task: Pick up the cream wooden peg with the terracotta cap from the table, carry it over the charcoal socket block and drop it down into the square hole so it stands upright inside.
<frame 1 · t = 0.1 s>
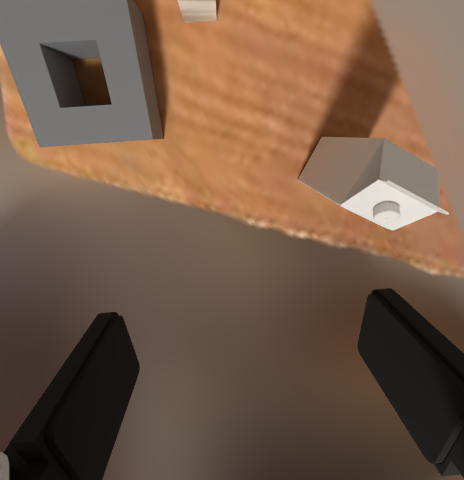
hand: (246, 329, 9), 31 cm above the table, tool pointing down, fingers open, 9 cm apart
milk carton: (326, 168, 37), on the table
socket block: (102, 85, 31), on the table
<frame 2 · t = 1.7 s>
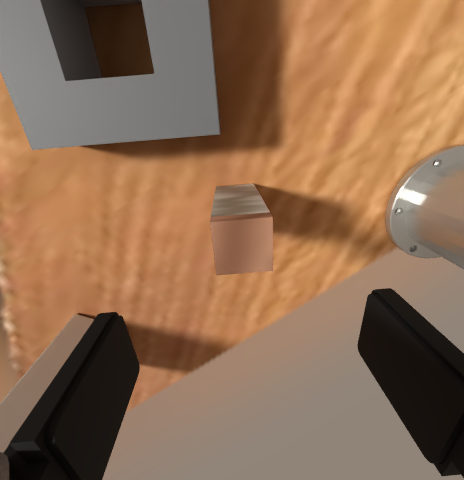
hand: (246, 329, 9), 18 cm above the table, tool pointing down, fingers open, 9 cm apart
milk carton: (98, 336, 33), on the table
peg: (236, 203, 26), on the table
socket block: (131, 51, 20), on the table
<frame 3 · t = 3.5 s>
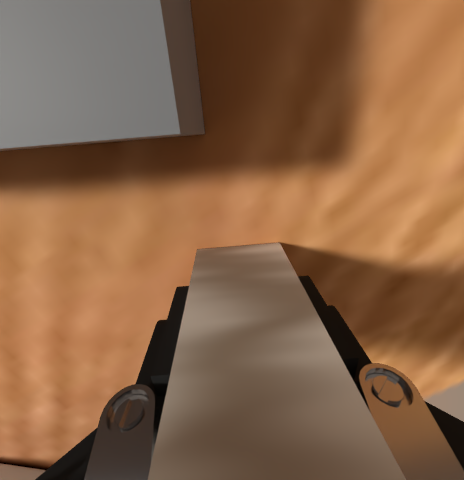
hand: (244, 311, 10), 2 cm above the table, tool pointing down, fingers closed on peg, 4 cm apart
milk carton: (5, 478, 20), on the table
peg: (240, 280, 12), on the table, touching gripper
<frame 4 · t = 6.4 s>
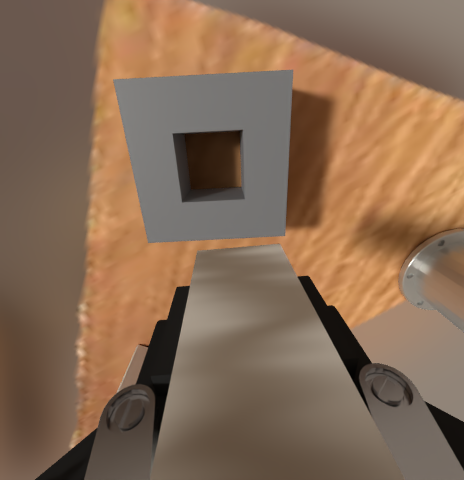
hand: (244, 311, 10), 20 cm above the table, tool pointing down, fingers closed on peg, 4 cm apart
milk carton: (153, 362, 40), on the table
peg: (241, 281, 12), point 18 cm above the table, touching gripper
socket block: (214, 161, 26), on the table
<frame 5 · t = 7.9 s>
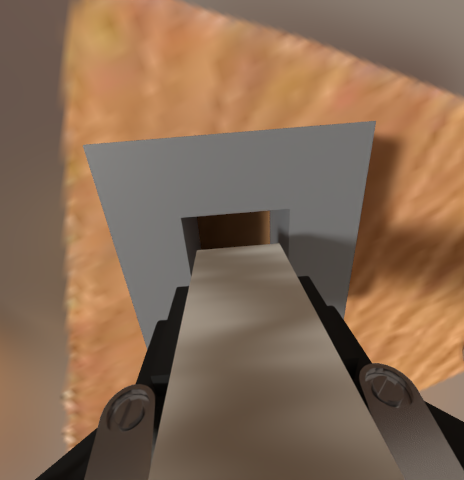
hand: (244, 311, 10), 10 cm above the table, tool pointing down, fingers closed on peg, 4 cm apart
peg: (240, 281, 12), point 8 cm above the table, touching gripper
socket block: (234, 225, 19), on the table
when the fingers open (7 cm above the table, at t = 9.0 s): peg drops 4 cm, resting in socket block.
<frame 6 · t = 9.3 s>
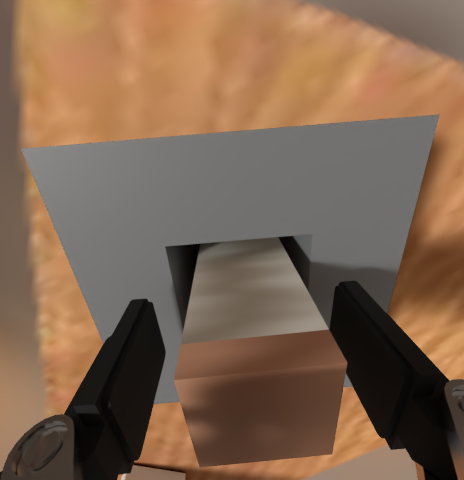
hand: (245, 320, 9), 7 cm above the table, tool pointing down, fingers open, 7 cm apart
milk carton: (150, 478, 30), on the table
peg: (237, 244, 16), resting in socket block
socket block: (235, 243, 16), on the table
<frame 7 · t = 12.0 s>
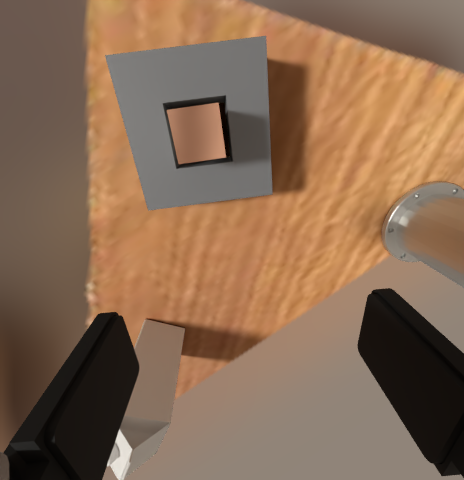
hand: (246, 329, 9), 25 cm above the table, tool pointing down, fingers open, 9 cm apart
milk carton: (160, 336, 42), on the table
peg: (203, 134, 29), resting in socket block
socket block: (202, 133, 28), on the table
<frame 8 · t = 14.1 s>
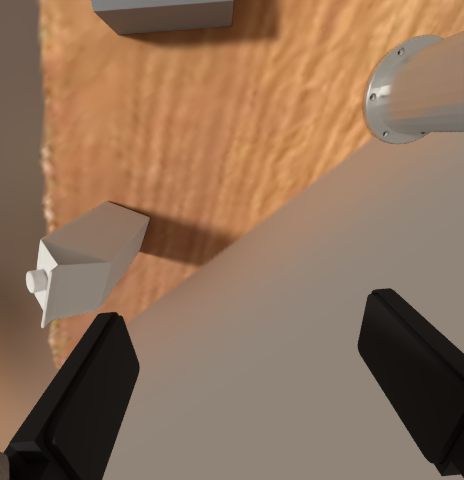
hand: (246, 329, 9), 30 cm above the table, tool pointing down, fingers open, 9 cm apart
milk carton: (124, 227, 39), on the table
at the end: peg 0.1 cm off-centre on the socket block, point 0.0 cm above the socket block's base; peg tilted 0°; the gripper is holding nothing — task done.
